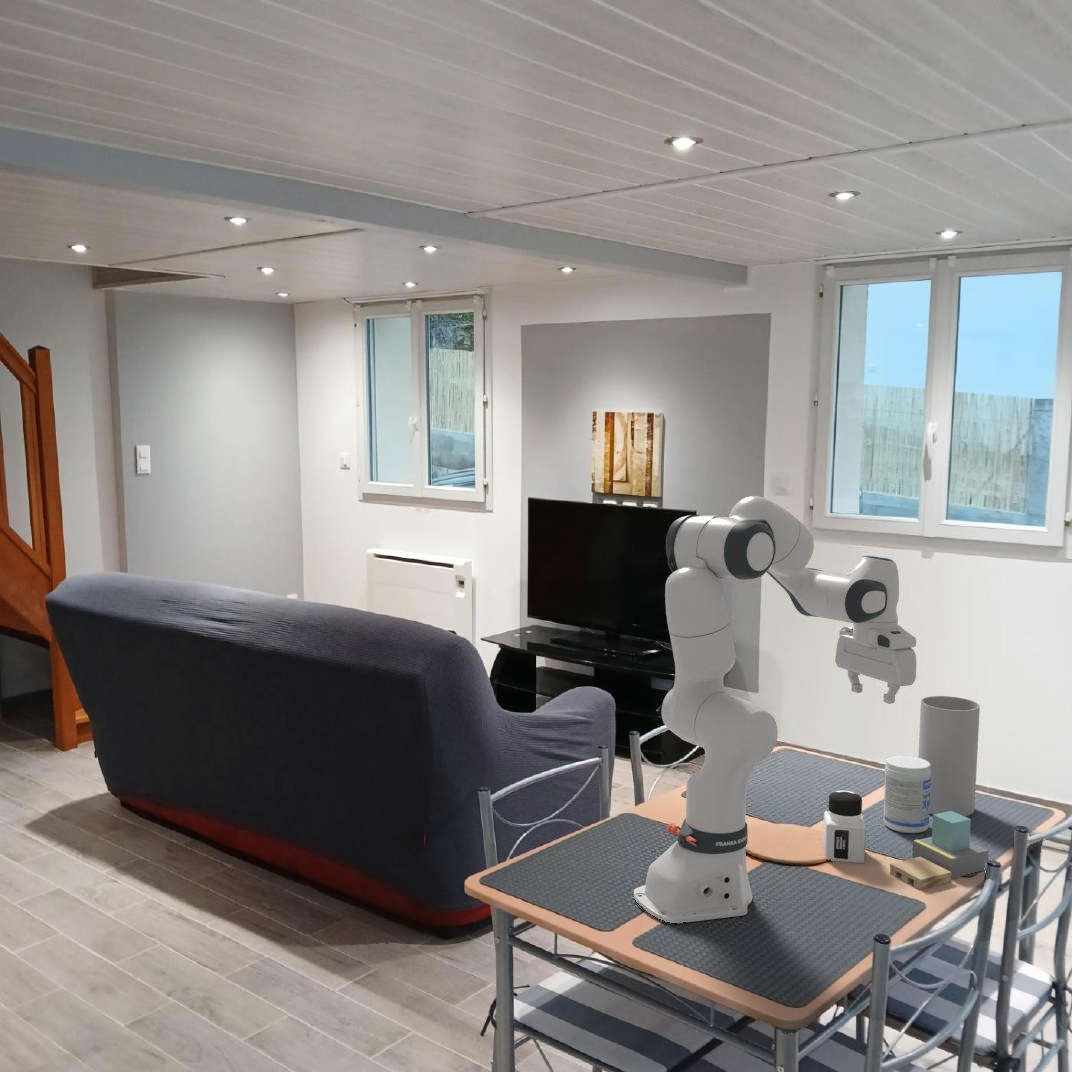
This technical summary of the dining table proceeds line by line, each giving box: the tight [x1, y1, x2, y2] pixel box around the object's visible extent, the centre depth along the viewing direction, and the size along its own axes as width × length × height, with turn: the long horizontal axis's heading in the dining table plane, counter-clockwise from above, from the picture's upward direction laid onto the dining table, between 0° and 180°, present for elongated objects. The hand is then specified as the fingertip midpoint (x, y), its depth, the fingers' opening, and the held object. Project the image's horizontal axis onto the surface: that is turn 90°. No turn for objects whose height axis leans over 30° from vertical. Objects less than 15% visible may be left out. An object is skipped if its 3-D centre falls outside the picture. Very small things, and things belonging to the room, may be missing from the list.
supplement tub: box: [883, 755, 931, 834], centre depth 233 cm, size 10×10×15 cm
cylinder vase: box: [917, 695, 981, 818], centre depth 243 cm, size 12×12×25 cm
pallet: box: [889, 857, 952, 890], centre depth 208 cm, size 8×8×2 cm
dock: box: [912, 836, 989, 880], centre depth 214 cm, size 10×10×4 cm
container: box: [822, 790, 867, 864], centre depth 218 cm, size 8×8×13 cm
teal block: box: [931, 811, 972, 852], centre depth 213 cm, size 5×5×6 cm
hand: (872, 697), depth 223 cm, fingers open, 8 cm apart
